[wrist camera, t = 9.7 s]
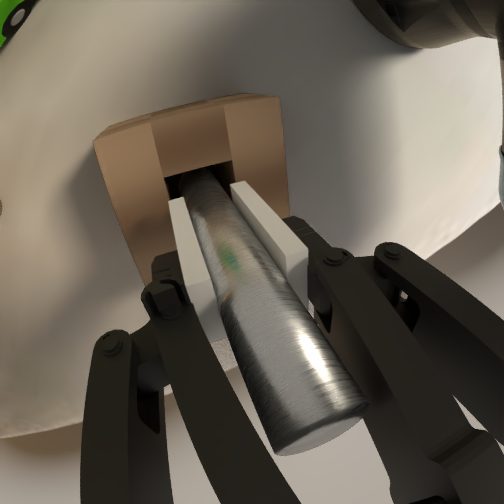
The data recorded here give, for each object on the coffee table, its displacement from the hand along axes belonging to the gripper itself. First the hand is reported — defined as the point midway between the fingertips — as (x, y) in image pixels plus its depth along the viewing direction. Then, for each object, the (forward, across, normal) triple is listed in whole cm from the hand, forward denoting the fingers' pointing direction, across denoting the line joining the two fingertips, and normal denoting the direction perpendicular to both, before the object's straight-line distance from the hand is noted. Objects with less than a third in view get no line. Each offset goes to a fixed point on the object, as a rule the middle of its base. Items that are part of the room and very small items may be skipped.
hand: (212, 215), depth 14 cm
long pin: (+5, 0, 0) cm, 5 cm away
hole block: (+8, 0, 0) cm, 8 cm away
